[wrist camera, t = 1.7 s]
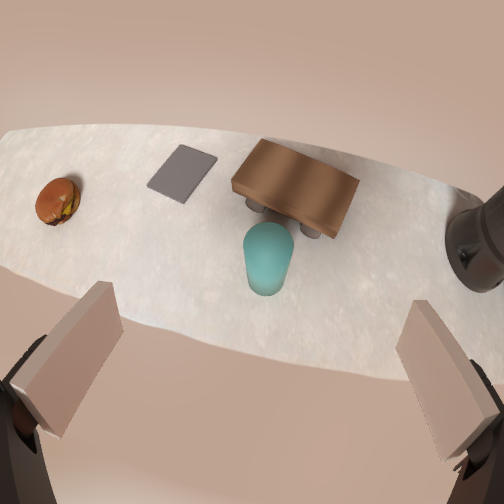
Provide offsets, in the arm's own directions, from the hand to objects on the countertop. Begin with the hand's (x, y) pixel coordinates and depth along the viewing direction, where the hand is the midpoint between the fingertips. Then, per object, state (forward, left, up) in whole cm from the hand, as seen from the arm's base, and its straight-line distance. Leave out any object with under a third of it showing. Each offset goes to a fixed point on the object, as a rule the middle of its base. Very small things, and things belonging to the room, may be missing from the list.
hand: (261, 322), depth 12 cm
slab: (+6, -22, -27) cm, 35 cm away
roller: (+4, -9, -27) cm, 28 cm away
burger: (+44, -3, -27) cm, 52 cm away
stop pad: (+25, -18, -27) cm, 41 cm away
